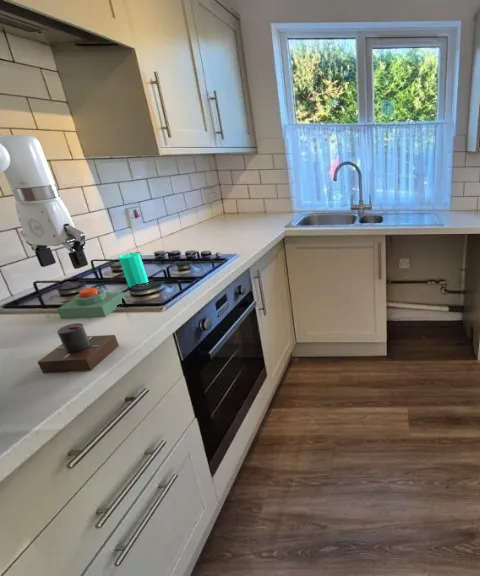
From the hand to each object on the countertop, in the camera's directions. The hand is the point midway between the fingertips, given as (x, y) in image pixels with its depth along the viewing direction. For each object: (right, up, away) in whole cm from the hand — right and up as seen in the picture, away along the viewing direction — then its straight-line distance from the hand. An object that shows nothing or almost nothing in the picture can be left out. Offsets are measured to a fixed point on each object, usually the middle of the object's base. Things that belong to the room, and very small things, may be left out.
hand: (65, 266), depth 88 cm
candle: (-6, -4, +35) cm, 36 cm away
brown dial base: (+9, -22, -5) cm, 24 cm away
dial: (+9, -19, -7) cm, 22 cm away
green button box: (-7, -12, +18) cm, 22 cm away
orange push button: (-7, -8, +16) cm, 19 cm away
